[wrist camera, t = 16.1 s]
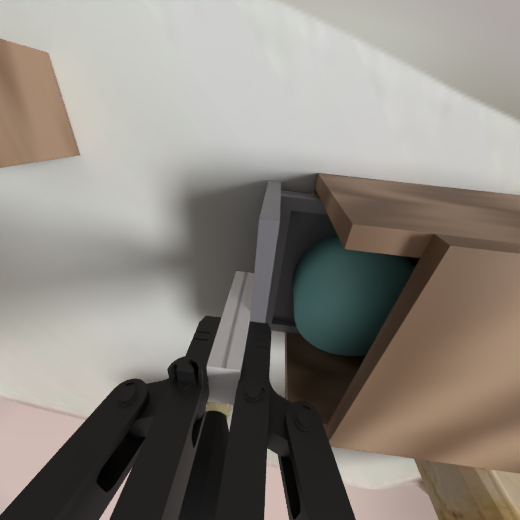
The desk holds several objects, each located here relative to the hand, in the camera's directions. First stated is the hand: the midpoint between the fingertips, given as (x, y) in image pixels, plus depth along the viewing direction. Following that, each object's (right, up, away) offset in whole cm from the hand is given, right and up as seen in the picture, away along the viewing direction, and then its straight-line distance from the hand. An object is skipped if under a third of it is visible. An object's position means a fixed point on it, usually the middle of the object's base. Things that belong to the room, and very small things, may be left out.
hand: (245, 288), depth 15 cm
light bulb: (-4, -14, +13) cm, 19 cm away
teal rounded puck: (+7, 0, +2) cm, 8 cm away
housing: (+12, 0, +3) cm, 12 cm away
